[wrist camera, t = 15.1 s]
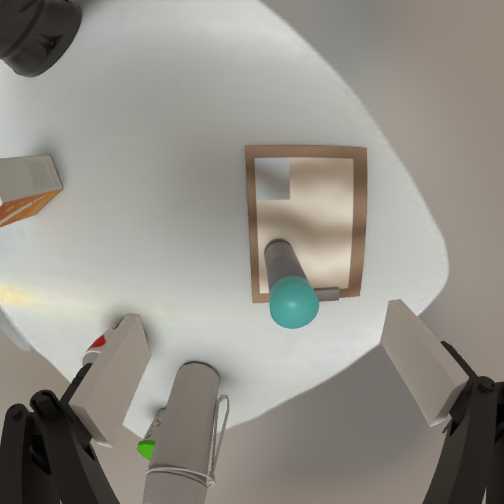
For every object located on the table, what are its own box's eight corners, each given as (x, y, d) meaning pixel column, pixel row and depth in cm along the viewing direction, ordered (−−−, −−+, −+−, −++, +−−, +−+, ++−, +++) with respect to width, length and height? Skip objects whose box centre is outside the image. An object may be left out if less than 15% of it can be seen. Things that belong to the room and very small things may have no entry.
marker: (262, 238, 33) (269, 287, 20) (293, 237, 33) (320, 283, 20) (263, 267, 35) (270, 330, 21) (293, 266, 34) (317, 326, 21)
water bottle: (184, 391, 43) (154, 516, 19) (171, 359, 40) (125, 495, 16) (235, 390, 42) (227, 524, 18) (227, 356, 40) (211, 508, 16)
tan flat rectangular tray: (245, 146, 31) (245, 145, 29) (364, 148, 31) (369, 147, 29) (252, 300, 37) (252, 306, 35) (358, 294, 37) (362, 299, 35)
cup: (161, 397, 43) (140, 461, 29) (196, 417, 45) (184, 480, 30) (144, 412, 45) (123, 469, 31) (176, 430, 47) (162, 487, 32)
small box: (36, 215, 33) (-21, 236, 21) (23, 182, 31) (-34, 195, 19) (64, 189, 32) (2, 204, 20) (51, 153, 30) (-11, 157, 18)
